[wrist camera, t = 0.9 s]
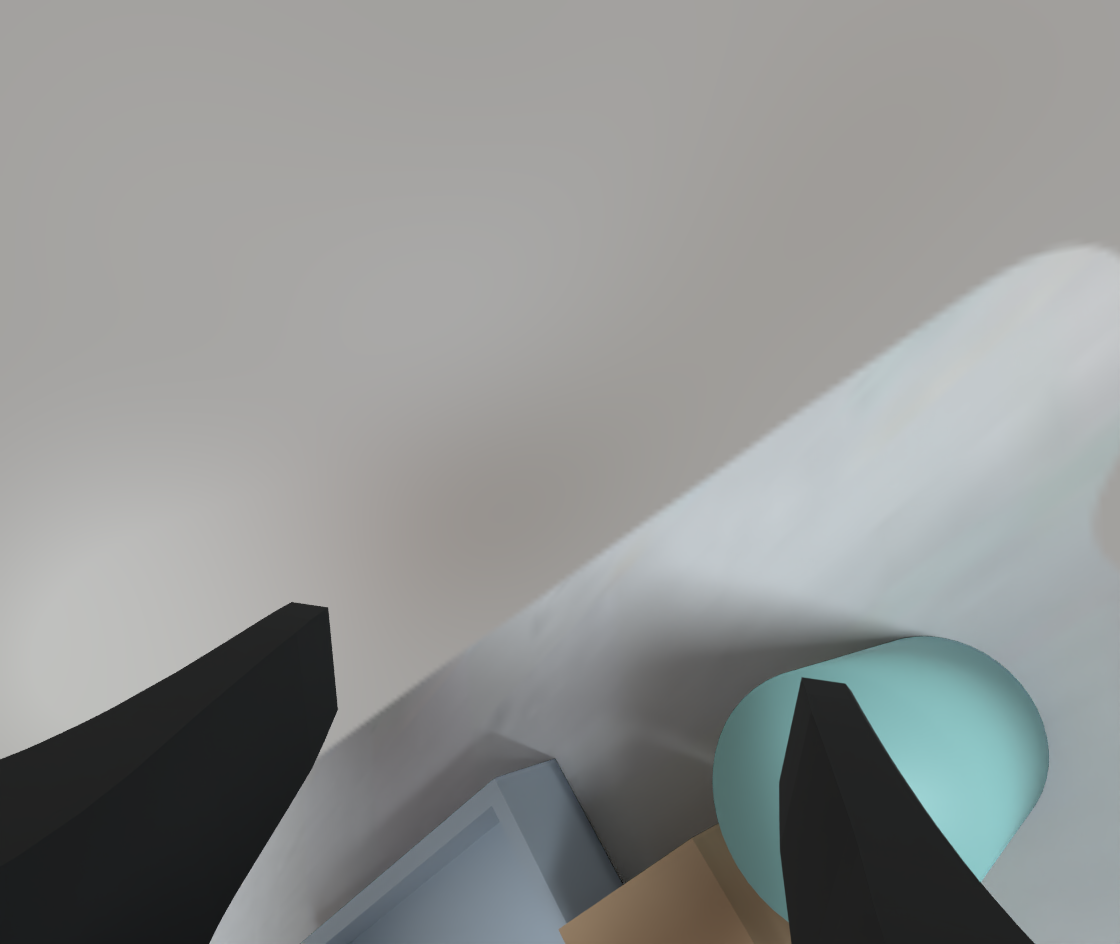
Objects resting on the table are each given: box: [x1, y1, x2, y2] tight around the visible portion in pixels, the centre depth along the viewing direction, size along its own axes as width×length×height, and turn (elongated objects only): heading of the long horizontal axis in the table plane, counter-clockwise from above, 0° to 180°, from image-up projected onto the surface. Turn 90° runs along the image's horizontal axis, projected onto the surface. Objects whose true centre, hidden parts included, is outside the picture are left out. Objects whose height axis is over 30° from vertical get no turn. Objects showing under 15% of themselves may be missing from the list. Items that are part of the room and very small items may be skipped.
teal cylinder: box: [712, 636, 1049, 922], centre depth 18 cm, size 5×5×7 cm
